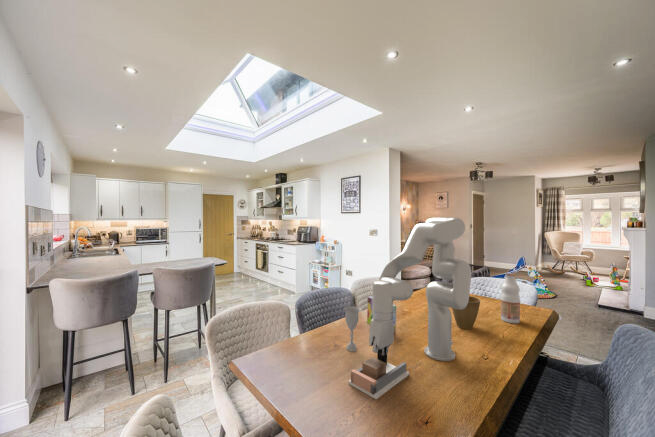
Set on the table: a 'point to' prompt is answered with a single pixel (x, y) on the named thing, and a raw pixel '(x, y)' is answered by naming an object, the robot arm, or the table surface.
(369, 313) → the snack box
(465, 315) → the plant pot
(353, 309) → the chalice
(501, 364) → the table surface
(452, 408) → the table surface
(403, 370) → the chute
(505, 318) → the white plastic bottle
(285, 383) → the table surface
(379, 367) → the walnut block
